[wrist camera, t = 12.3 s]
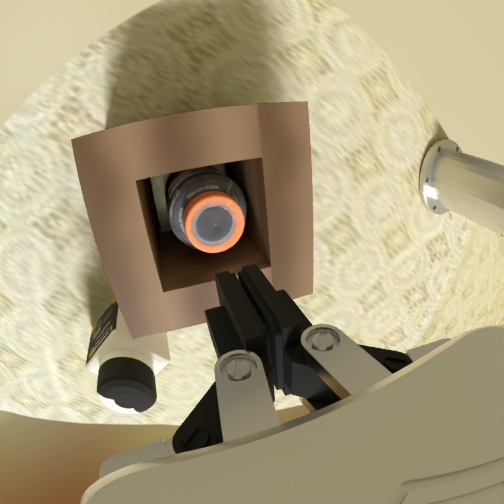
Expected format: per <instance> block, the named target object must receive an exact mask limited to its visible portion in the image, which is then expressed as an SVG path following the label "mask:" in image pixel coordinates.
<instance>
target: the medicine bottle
mask: <svg viewBox="0 0 504 504" xmlns="http://www.w3.org/2000/svg"><path fill="white" fill-rule="evenodd" d="M169 361H170V355H169V348H168V340H167V332H163V333H159V334H154V335H150V336H145V337H140V338H135V339H132V337H131V334H130V332H129V330H128V327H127V325H126V323H125V320H124V318H123V316H122V313H121V311H120V308H119V306H118V303H117V301H116V298H115V299H114V301H113V302H112V303H111V305H110V306H109V307H108V309H107V310H106V311H105V313H104V314H103V315H102V317H101V318H100V319H99V321H98V322H97V323H96V325H95V326H94V327H93V329H92V332H91V338H90V343H89V349H88V355H87V361H86V369H88V370H89V371H91V372H93V373H95V374H97V375H98V381H97V395H98V397H99V399H100V400H101V401H102V402H103V403H104V404H105V405H106V406H107V407H109V408H110V409H112V410H115V411H117V412H121V413H129V414H131V413H140V412H143V411H146V410H147V409H149V408H150V407H151V406H152V405H153V404H154V403H155V401H156V398H157V394H156V384H155V375H156V374H157V373H158V372H159V371H160V370H161V369H162V368H163V367H164V366H166V365H167V364H168V363H169Z"/></svg>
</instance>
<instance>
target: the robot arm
mask: <svg viewBox="0 0 504 504" xmlns="http://www.w3.org/2000/svg"><path fill="white" fill-rule="evenodd" d="M420 193H421V198H422V201H423V203H424V205H425V207H426V208H427V209H428V210H429V211H431V212H433V213H435V214H444V213H446V212H448V211H449V210H451V211H453V212H455V213H458V214H460V215H462V216H464V217H466V218H468V219H470V220H472V221H474V222H476V223H478V224H480V225H482V226H484V227H486V228H488V229H490V230H492V231H494V232H496V233H498V234H500V235H501V236H503V237H504V166H503V165H500V164H497V163H494V162H491V161H488V160H485V159H481V158H478V157H474V156H471V155H468V154H464V153H462V151H461V149H460V147H459V146H458V145H457V144H456V143H455V142H453V141H451V140H447V139H441V140H438V141H437V142H435V143H434V144H433V145H432V146H431V147H430V149H429V150H428V152H427V154H426V156H425V158H424V161H423V164H422V167H421V172H420ZM214 276H215V282H216V287H217V293H218V298H219V303H220V306H219V307H215V308H211V309H207V310H204V311H205V316H206V320H207V324H208V328H209V332H210V336H211V339H212V342H213V345H214V348H215V351H216V354H217V357H218V360H217V362H216V364H215V370H214V371H215V380H216V381H215V382H214V383H213V385H212V386H211V387H210V389H209V390H208V391H207V392H206V394H205V395H204V396H203V398H202V399H201V400H200V402H199V403H198V404H197V405H196V407H195V408H194V409H193V411H192V412H191V413H190V414H189V416H188V417H187V418H186V419H185V421H184V422H183V423H182V425H181V426H180V427H179V429H178V430H177V431H176V433H175V434H174V436H173V437H172V438H170V439H168V440H165V441H163V440H162V439H160V440H157V441H155V442H152V443H150V444H147V445H145V446H142V447H139V448H136V449H134V450H131V451H128V452H125V453H122V454H119V455H116V456H113V457H111V458H109V459H107V460H105V462H104V463H103V464H102V465H101V467H100V471H99V474H100V479H99V480H98V481H96V482H95V483H94V484H92V485H91V486H90V487H89V488H88V489H87V490H86V491H85V493H84V495H83V497H82V499H81V502H80V504H504V328H502V327H498V326H485V327H480V328H475V329H473V330H470V331H467V332H465V333H462V334H460V335H458V336H456V337H454V338H453V339H449V338H446V339H441V340H438V341H435V342H432V343H429V344H426V345H423V346H420V347H416V348H413V349H410V350H406V353H405V354H404V353H402V352H398V351H393V350H387V349H381V348H375V347H370V346H364V345H359V344H356V343H355V342H354V341H353V340H352V339H350V338H349V337H348V336H347V335H346V334H345V333H343V332H342V331H341V330H340V329H338V328H336V327H335V326H332V325H327V324H318V325H314V326H313V325H312V324H311V323H310V321H309V320H308V319H307V318H306V316H305V315H304V314H303V312H302V311H301V310H300V309H299V307H298V306H297V305H296V304H295V302H294V301H293V300H292V298H291V297H290V296H289V295H288V293H287V292H286V291H285V290H283V289H282V290H278V291H276V290H275V289H274V287H273V286H272V285H271V283H270V282H269V281H268V279H267V278H266V276H265V275H264V274H263V272H262V271H261V270H260V268H259V267H258V266H257V264H252V265H247V266H243V267H242V271H238V278H237V276H236V275H235V273H229V271H228V270H227V271H223V272H219V273H215V274H214ZM274 386H275V387H276V389H277V390H279V389H282V390H283V392H284V394H285V396H286V395H289V394H292V395H296V396H299V397H300V400H301V402H302V404H303V405H304V406H305V407H306V408H307V410H308V411H309V412H310V414H307V415H305V416H302V417H300V418H297V419H295V420H292V421H289V422H287V423H284V424H281V425H279V421H278V418H277V414H276V411H275V407H274V404H273V403H274V401H275V396H274Z"/></svg>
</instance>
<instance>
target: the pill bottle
mask: <svg viewBox="0 0 504 504" xmlns="http://www.w3.org/2000/svg"><path fill="white" fill-rule="evenodd" d="M165 200H166V207H167V213H168V219H169V223H170V226H171V229H172V231H173V232H174V234H175V235H176V236H177V238H178V239H179V240H180V241H182V242H183V243H185V244H186V245H188V246H190V247H192V248H196V249H199V250H201V251H204V252H209V253H217V252H222V251H225V250H227V249H228V248H230V247H232V246H233V245H234V244H235V243H236V242H237V241H238V240H239V238H240V237H241V235H242V233H243V230H244V225H245V218H246V210H247V207H246V200H245V197H244V195H243V192H242V191H241V189H240V188H239V186H238V185H237V184H236V183H235V182H234V181H233V180H232V179H231V178H229V177H228V176H226V175H225V174H223V173H222V172H221V171H219V170H218V169H216V168H215V167H214V166H212V165H209V166H203V167H198V168H193V169H187V170H182V171H177V172H172V173H171V174H170V175H169V177H168V179H167V181H166V185H165Z"/></svg>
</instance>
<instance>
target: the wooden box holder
mask: <svg viewBox="0 0 504 504" xmlns="http://www.w3.org/2000/svg"><path fill="white" fill-rule="evenodd" d="M71 141H72V147H73V152H74V157H75V162H76V167H77V172H78V177H79V181H80V185H81V190H82V194H83V198H84V202H85V206H86V209H87V213H88V217H89V220H90V224H91V227H92V231H93V234H94V237H95V241H96V244H97V247H98V250H99V253H100V256H101V259H102V262H103V265H104V268H105V271H106V274H107V277H108V280H109V282H110V285H111V288H112V290H113V293H114V296H115V298H116V301H117V303H118V306H119V308H120V311H121V313H122V316H123V318H124V320H125V323H126V325H127V327H128V330H129V332H130V334H131V337H132V339H135V338H140V337H145V336H150V335H154V334H159V333H163V332H168V331H172V330H177V329H181V328H185V327H189V326H194V325H198V324H202V323H206V322H207V320H206V316H205V311H204V310H207V309H211V308H215V307H219V306H220V303H219V298H218V293H217V287H216V282H215V276H214V274H215V273H219V272H223V271H227V270H228V271H229V273H235V275H236V276H237V278H238V271H242V267H243V266H247V265H252V264H257V266H258V267H259V268H260V270H261V271H262V272H263V274H264V275H265V276H266V278H267V279H268V281H269V282H270V283H271V285H272V286H273V287H274V289H275V290H276V291H278V290H282V289H283V290H285V291H286V292H287V293H288V295H289V296H290V297H291V298H292V299H295V298H299V297H302V296H305V295H309V294H312V293H313V193H312V166H311V146H310V129H309V114H308V102H279V103H262V104H249V105H238V106H228V107H220V108H212V109H204V110H197V111H191V112H184V113H178V114H173V115H167V116H162V117H157V118H152V119H147V120H142V121H138V122H134V123H129V124H125V125H121V126H117V127H113V128H109V129H105V130H102V131H98V132H95V133H91V134H88V135H84V136H81V137H78V138H75V139H72V140H71ZM221 163H225V168H226V176H228V177H229V178H231V179H232V180H233V181H234V182H235V183H236V184H237V185H238V186H239V188H240V189H241V191H242V192H243V195H244V197H245V200H246V207H247V210H246V218H245V225H244V230H243V233H242V235H241V237H240V238H239V240H238V241H237V242H236V243H235V244H234V245H233V246H232V247H230V248H228V249H227V250H225V251H222V252H217V253H209V252H204V251H201V250H199V249H196V248H192V247H190V246H188V245H186V244H185V243H183V242H182V241H180V240H179V239H178V238H177V236H176V235H175V234H174V232H173V231H172V230H169V231H164V232H159V229H158V225H157V220H156V216H155V211H154V206H153V202H152V197H151V192H150V187H149V182H148V178H149V177H153V176H158V175H163V174H167V173H172V172H177V171H182V170H187V169H193V168H198V167H203V166H209V165H215V164H221Z"/></svg>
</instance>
